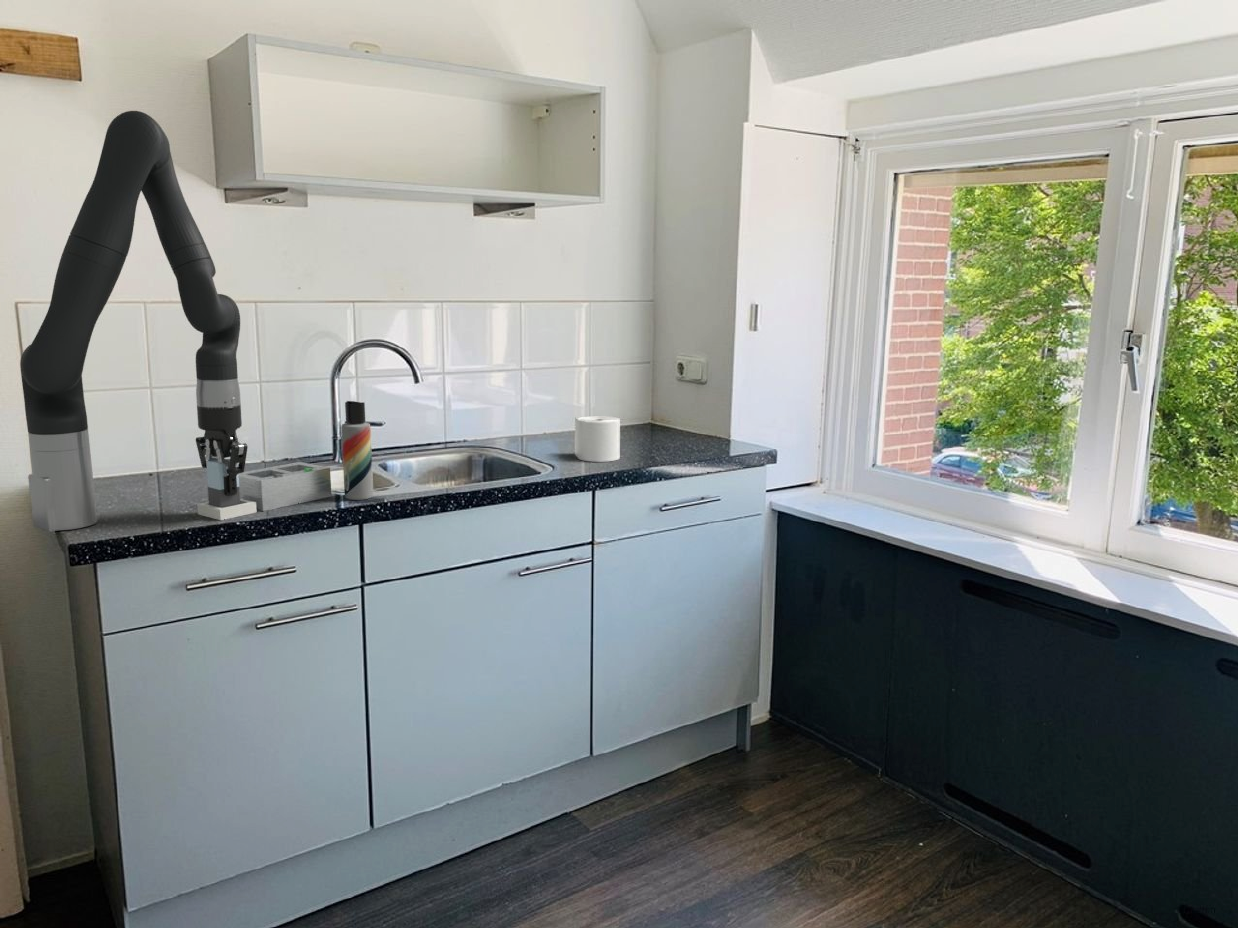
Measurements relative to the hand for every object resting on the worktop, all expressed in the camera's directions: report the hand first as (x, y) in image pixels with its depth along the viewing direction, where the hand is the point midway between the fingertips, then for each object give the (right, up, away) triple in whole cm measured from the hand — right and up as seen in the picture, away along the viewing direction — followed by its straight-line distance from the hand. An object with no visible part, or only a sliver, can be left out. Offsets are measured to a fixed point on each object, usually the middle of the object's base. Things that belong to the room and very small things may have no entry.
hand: (224, 492), depth 179 cm
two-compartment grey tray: (+7, -2, +12) cm, 14 cm away
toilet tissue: (+69, +7, +59) cm, 91 cm away
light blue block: (0, -3, 0) cm, 3 cm away
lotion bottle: (+21, -2, +16) cm, 26 cm away
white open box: (0, -4, +1) cm, 4 cm away
